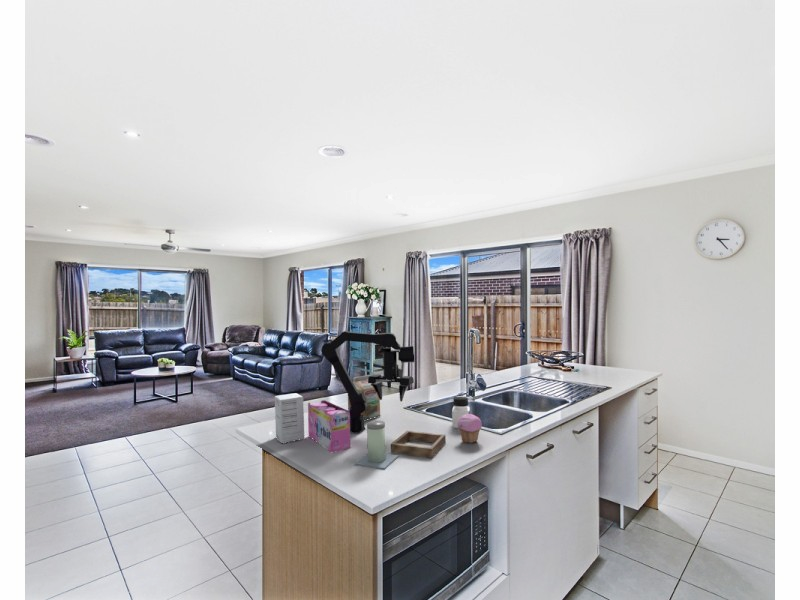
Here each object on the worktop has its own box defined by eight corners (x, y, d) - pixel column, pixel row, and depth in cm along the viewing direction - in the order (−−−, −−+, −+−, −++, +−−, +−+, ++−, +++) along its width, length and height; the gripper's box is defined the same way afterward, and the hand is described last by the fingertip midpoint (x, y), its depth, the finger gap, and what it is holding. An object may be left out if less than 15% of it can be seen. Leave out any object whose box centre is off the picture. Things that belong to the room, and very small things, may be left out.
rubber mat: (354, 464, 130) (354, 463, 130) (369, 453, 140) (369, 451, 140) (384, 469, 126) (384, 467, 126) (398, 456, 136) (398, 455, 136)
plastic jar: (366, 457, 135) (365, 421, 135) (383, 454, 137) (382, 419, 137) (370, 464, 129) (369, 426, 129) (388, 461, 131) (387, 424, 131)
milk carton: (366, 412, 193) (365, 373, 193) (380, 416, 185) (379, 375, 186) (348, 417, 186) (347, 376, 186) (362, 421, 178) (360, 379, 178)
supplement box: (305, 439, 156) (303, 396, 156) (281, 444, 152) (280, 400, 152) (298, 433, 165) (297, 392, 165) (275, 437, 160) (274, 395, 160)
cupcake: (468, 436, 155) (467, 410, 155) (487, 441, 149) (486, 414, 149) (453, 441, 149) (452, 415, 149) (472, 447, 143) (471, 419, 143)
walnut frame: (390, 452, 140) (390, 443, 140) (407, 438, 154) (407, 430, 154) (432, 457, 134) (432, 449, 134) (445, 442, 148) (445, 434, 148)
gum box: (306, 436, 161) (305, 402, 161) (324, 432, 165) (323, 399, 166) (331, 453, 141) (330, 414, 141) (351, 448, 146) (350, 410, 146)
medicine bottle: (469, 428, 164) (468, 399, 164) (452, 427, 166) (451, 399, 166) (470, 423, 171) (469, 395, 171) (453, 422, 173) (452, 395, 173)
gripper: (417, 360, 170) (418, 397, 170) (378, 359, 177) (379, 394, 177) (407, 364, 160) (409, 403, 159) (366, 363, 167) (367, 400, 167)
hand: (391, 400), depth 166 cm, fingers open, 9 cm apart
